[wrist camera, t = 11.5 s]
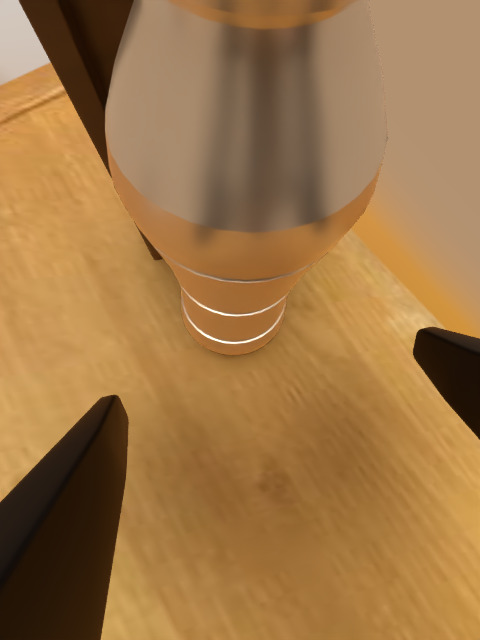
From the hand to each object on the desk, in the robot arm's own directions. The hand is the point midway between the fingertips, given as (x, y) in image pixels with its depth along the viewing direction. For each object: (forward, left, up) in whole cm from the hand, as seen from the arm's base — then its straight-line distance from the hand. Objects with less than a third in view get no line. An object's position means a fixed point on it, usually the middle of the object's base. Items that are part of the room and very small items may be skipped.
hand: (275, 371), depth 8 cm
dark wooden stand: (+8, -4, -12) cm, 15 cm away
